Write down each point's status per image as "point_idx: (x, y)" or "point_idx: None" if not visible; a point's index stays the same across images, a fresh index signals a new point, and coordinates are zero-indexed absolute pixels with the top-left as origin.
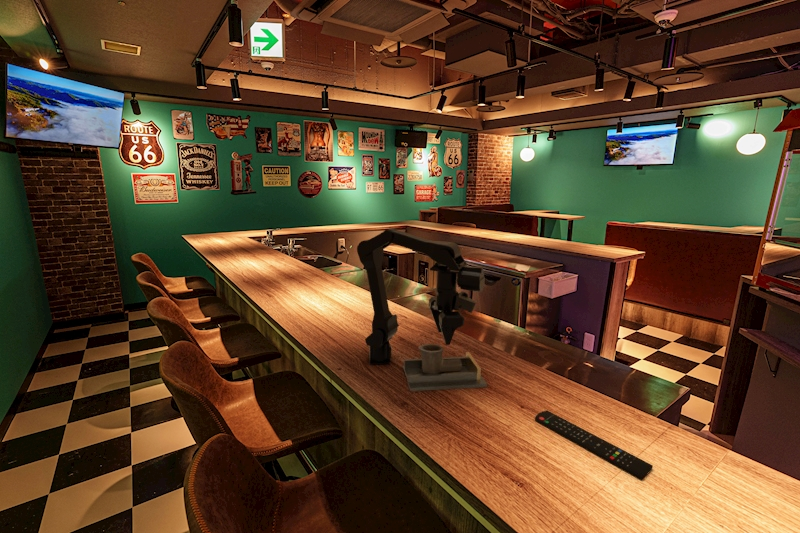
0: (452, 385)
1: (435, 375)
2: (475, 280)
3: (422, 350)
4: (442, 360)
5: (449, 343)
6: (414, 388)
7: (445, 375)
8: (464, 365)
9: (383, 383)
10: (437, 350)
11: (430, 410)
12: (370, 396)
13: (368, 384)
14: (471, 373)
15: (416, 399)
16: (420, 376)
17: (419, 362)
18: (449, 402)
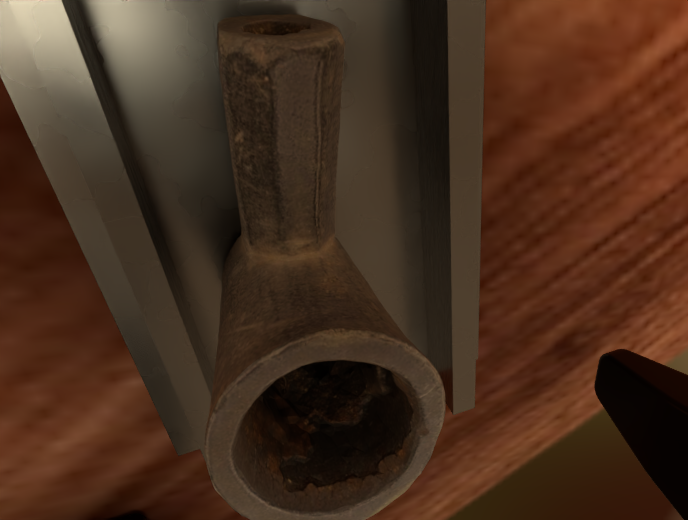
0: (480, 110)
1: (473, 267)
2: None
3: (396, 494)
4: (315, 254)
5: (641, 364)
6: (476, 337)
7: (478, 194)
8: None
9: None
10: (415, 386)
11: (648, 230)
12: (488, 472)
13: (390, 510)
14: None
15: (544, 304)
16: (475, 355)
17: (211, 391)
18: (611, 129)
